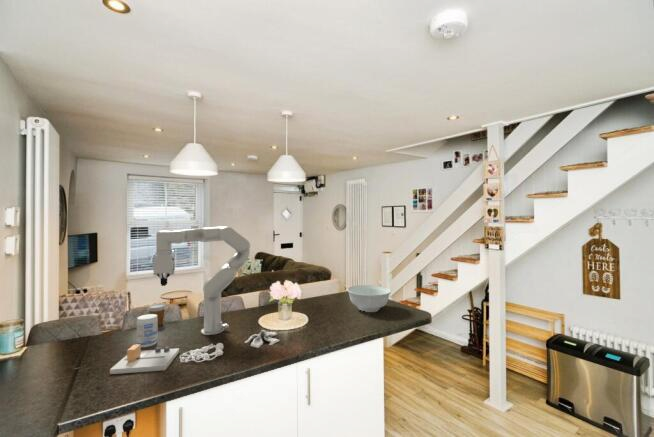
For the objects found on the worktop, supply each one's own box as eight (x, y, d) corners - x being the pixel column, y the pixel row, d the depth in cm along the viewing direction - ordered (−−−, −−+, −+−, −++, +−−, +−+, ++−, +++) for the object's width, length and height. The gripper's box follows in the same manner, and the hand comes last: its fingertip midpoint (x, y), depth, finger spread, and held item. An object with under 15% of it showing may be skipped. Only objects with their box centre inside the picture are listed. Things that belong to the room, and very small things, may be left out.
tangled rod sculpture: (177, 370, 133) (176, 361, 133) (182, 354, 147) (181, 345, 147) (222, 362, 139) (222, 354, 139) (223, 347, 153) (223, 339, 153)
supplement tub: (146, 349, 152) (146, 320, 152) (131, 347, 155) (132, 318, 155) (161, 341, 162) (161, 314, 162) (148, 339, 164) (148, 313, 165)
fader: (140, 354, 140) (140, 343, 140) (134, 360, 134) (134, 349, 134) (133, 355, 140) (133, 344, 140) (127, 361, 134) (127, 349, 134)
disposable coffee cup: (166, 325, 187) (166, 306, 187) (148, 328, 181) (148, 309, 181) (164, 321, 195) (164, 303, 195) (147, 324, 189) (147, 305, 189)
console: (179, 352, 149) (179, 345, 149) (165, 370, 131) (165, 362, 131) (130, 355, 145) (130, 348, 145) (109, 374, 127) (109, 365, 127)
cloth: (274, 332, 177) (274, 321, 177) (285, 343, 161) (285, 331, 161) (235, 339, 166) (235, 328, 166) (244, 352, 150) (244, 339, 150)
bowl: (399, 308, 221) (399, 288, 221) (374, 319, 197) (374, 297, 198) (364, 300, 243) (364, 282, 243) (337, 309, 220) (337, 289, 220)
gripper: (180, 251, 173) (180, 283, 173) (152, 252, 171) (152, 284, 171) (175, 253, 166) (175, 286, 166) (146, 253, 164) (146, 287, 163)
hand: (163, 285), depth 168 cm, fingers closed
